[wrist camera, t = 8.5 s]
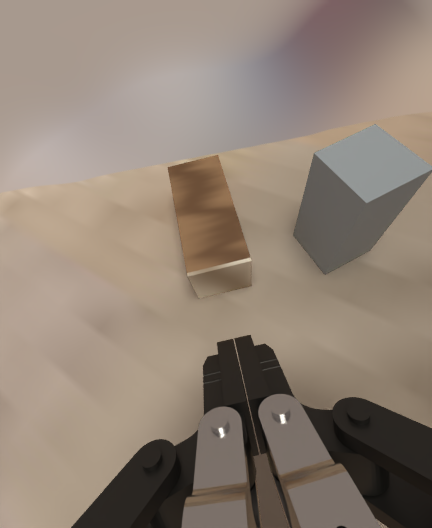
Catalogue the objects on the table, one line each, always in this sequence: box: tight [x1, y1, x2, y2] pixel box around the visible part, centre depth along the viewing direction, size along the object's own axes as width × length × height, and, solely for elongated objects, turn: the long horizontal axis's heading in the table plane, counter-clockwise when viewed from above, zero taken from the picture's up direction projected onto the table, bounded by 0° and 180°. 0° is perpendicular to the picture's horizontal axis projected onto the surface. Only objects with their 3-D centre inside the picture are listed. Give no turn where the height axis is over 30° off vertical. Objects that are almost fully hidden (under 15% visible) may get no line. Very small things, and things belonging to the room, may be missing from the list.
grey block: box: [293, 124, 432, 275], centre depth 22 cm, size 5×5×10 cm
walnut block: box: [168, 155, 251, 299], centre depth 26 cm, size 5×5×12 cm
